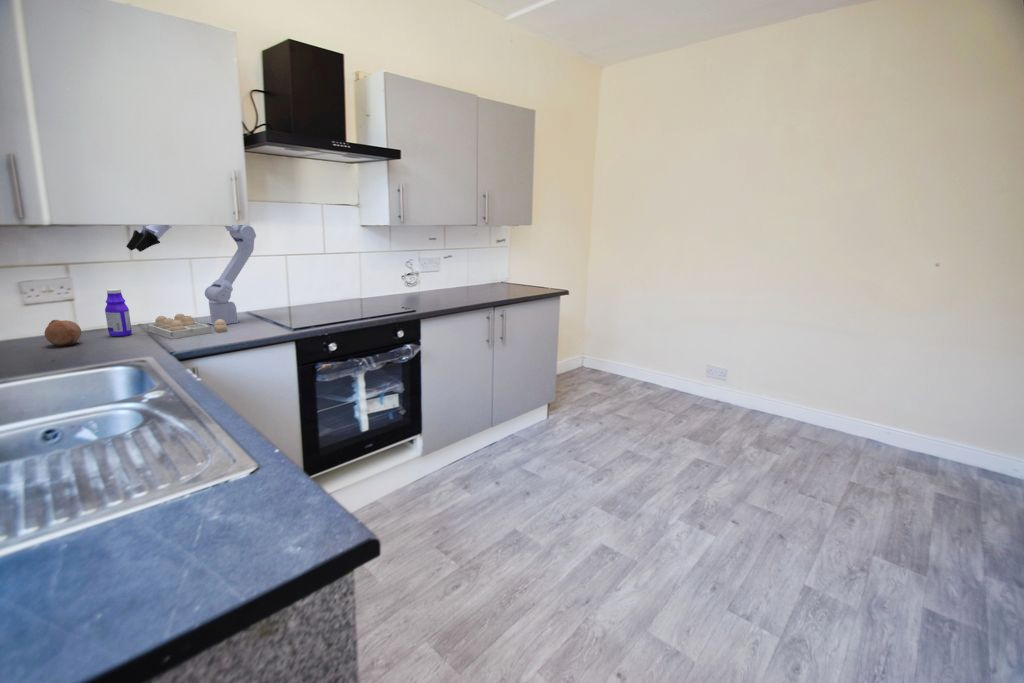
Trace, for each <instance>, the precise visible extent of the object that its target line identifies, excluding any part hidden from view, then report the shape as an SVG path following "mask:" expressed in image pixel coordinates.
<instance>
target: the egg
mask: <svg viewBox="0 0 1024 683" xmlns="http://www.w3.org/2000/svg"><path fill="white" fill-rule="evenodd" d="M213 326H214V332H215V333H219V334H220V333H226V332H227V331H228V330H227V324H226V322H225V321H224V320H222V319H218V320H216V321H215V323H214V325H213Z"/></svg>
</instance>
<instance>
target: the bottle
mask: <svg viewBox="0 0 1024 683" xmlns="http://www.w3.org/2000/svg"><path fill="white" fill-rule="evenodd" d="M106 293H107V294H106V295H107V296H106V300H105V303H106V306H105V308H104V313H105V319H106V325H107V330H108V334H109V335H110V337H127V336H130V335H132V330H133V329H132V323H131V316H130V309H129V307H128V305H127V304H126V300H125V299H124V297H123V294H122V289H120V288H109V289H106Z"/></svg>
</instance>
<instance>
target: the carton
mask: <svg viewBox="0 0 1024 683" xmlns="http://www.w3.org/2000/svg"><path fill="white" fill-rule="evenodd" d="M194 320H195V319H194V317H193V316H191V315H185V314H183V313H177V314H175V316H174V317H173V318H170V317H166V316H163V315H160V316H157V317H156V318H155V323H151V324H147V332H150V333H151V334H152V333H153V334H155V335H158V336H162V337H164V338H167V339H170V340H174V339H175V340H176V339H181V338H187V337H193V336H199V335H207V334H211V333H212V326H211V325H209V324H204V323H199V322H196V321H194Z"/></svg>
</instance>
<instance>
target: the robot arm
mask: <svg viewBox="0 0 1024 683" xmlns="http://www.w3.org/2000/svg"><path fill="white" fill-rule="evenodd" d="M146 225H147V224H145V225H143V226H141V227H142V229H140V230H139V231H138V230H137V229H135V230H133V233H132V237H131V238H130V240H129V241H128V243H127V244H126V246H125V247H126V248H127V249H128V250H129V251H134V250H137V251H138V252H140V253H141V252H143V251H145V250H147V249H148V248H150V247H152V246H155V245H158V244H159V245H160V244H161V241H160V238H162V237H163V236H164V235H165V233H167V231H169V230H170V229H172V227H173V226H169V225H149V226H146ZM224 228H225V229H226V231H227V232H229V235H230V237H231V238H232V239H233V240H234V242H235V243H236V246H237V250H236V251H235V253H234V254H233V256H232V257H231V259H230V261H229V262H228V263H227V266H226V267H225V268H224V270H223V271H222V273H220V274H221V275H220V276H219V277H218V279H216V280H215V281H213V282H212V284H211V285H210V286H207V288H206V289H205V290H204V296H205V298H206V299H207V300H208V307H209V316H210V321H207V322H206V323H207V325H212V326H214V323H215V321H216V320H218V319H222V320H224V321H225V322H226V325H229V324H235V323H236V324H237V323H239V321H238V313H237V305H236V304H235V302H233V301H230V299H231V297H232V296H231V295H232V292H233V290H234V287H233V284H234V282H235V280H237V278H238V276H239V274H240V272H241V271H242V269H243V268H244V266H245V265H246V263H247V262H248V260H249V259H250V257H251V255H252V254H253V253H254V250H255V249H254V248H255V247H254V246H255V239H256V237H257V234H256V232H255V229H254V228H253V226H252V225H249V224H243V225H232V226H224Z"/></svg>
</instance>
